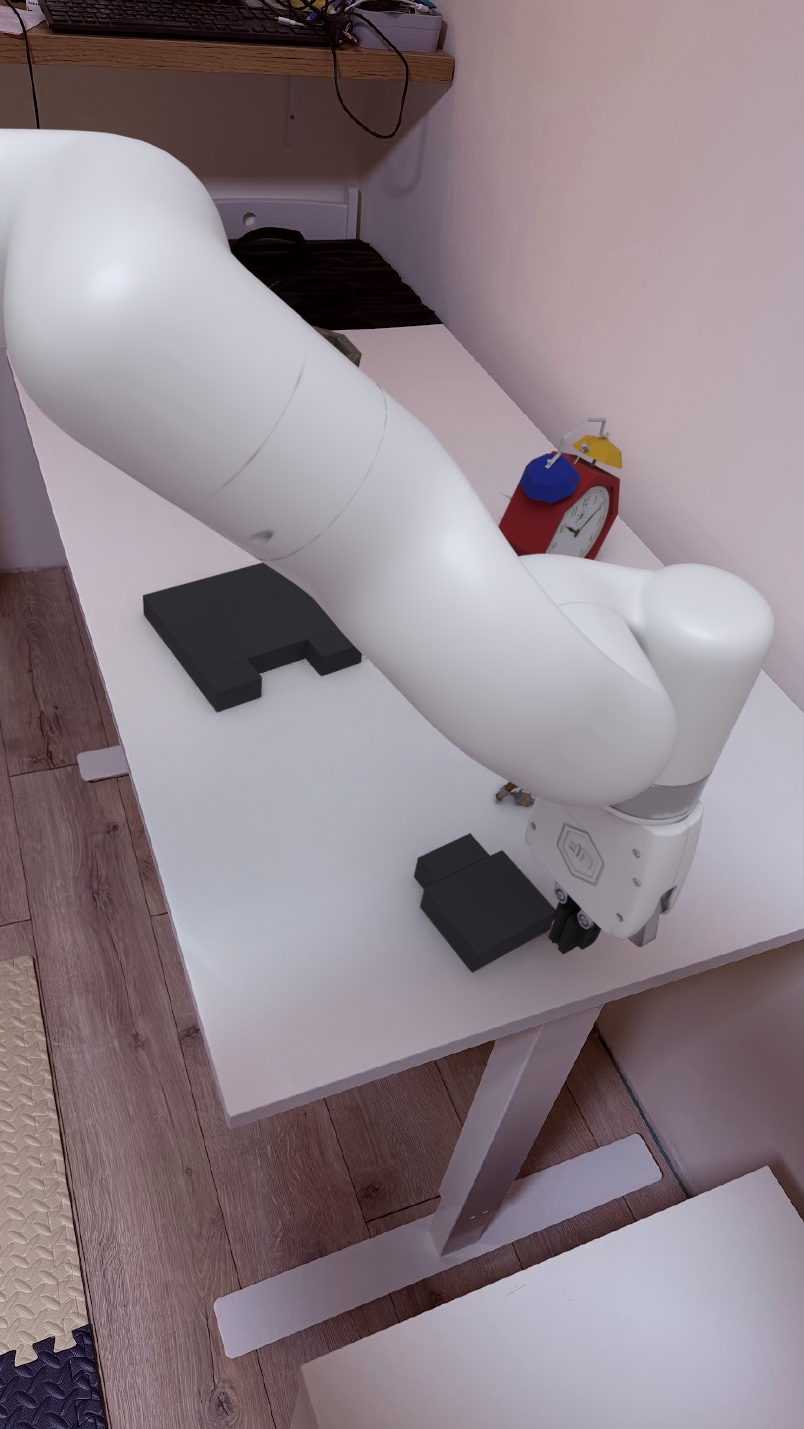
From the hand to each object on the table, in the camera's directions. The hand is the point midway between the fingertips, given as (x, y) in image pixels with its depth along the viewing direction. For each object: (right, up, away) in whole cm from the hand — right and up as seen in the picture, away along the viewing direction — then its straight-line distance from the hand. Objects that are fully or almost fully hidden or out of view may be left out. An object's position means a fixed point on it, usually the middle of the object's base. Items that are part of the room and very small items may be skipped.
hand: (570, 937), depth 72 cm
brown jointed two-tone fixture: (0, +8, +19) cm, 20 cm away
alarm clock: (+3, +32, +45) cm, 55 cm away
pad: (-6, 0, +10) cm, 11 cm away
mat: (-27, +24, +30) cm, 47 cm away
